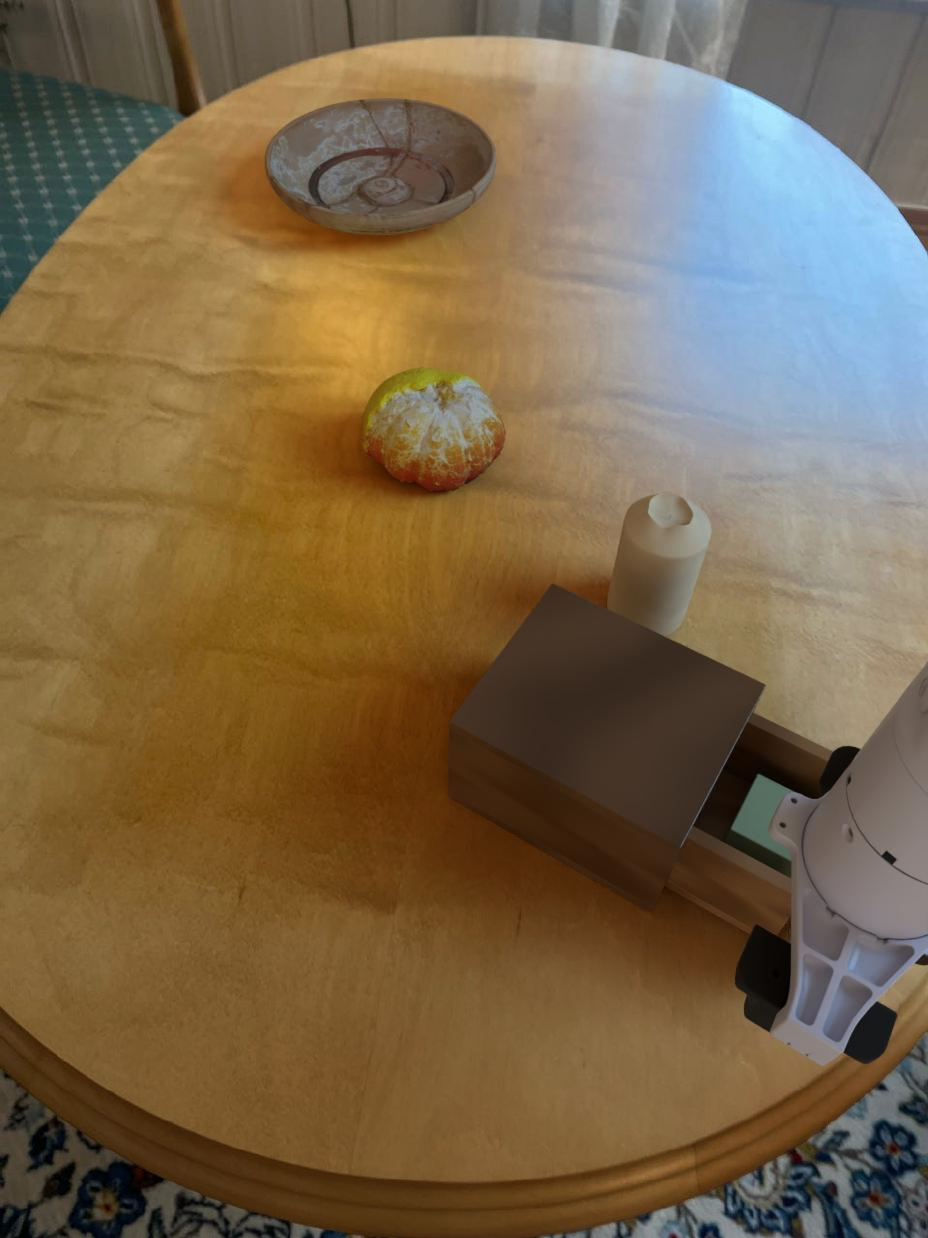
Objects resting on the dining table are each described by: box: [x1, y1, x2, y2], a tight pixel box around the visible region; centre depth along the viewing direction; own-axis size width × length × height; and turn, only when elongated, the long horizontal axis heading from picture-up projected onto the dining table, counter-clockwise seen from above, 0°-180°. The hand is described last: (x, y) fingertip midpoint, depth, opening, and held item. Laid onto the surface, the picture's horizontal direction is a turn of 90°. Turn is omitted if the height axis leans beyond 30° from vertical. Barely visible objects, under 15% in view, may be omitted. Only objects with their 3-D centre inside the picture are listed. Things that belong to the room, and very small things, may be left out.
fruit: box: [360, 366, 507, 494], centre depth 75 cm, size 11×10×8 cm
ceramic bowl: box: [264, 97, 497, 236], centre depth 99 cm, size 23×24×5 cm
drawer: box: [665, 712, 928, 966], centre depth 53 cm, size 17×10×7 cm, turn 58°
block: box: [723, 774, 793, 878], centre depth 53 cm, size 4×4×4 cm
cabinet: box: [447, 583, 767, 914], centre depth 56 cm, size 14×12×9 cm
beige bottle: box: [606, 491, 713, 637], centre depth 64 cm, size 6×6×10 cm
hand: (799, 946), depth 43 cm, fingers open, 7 cm apart
